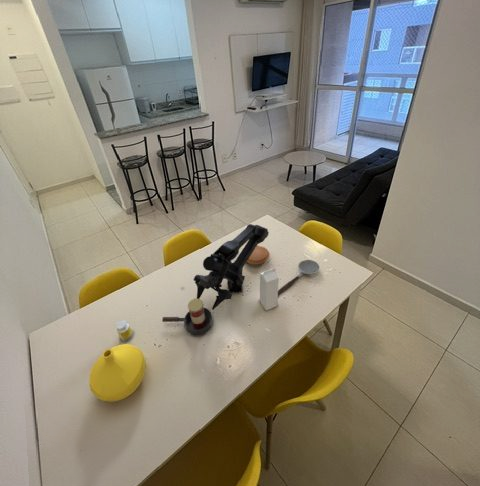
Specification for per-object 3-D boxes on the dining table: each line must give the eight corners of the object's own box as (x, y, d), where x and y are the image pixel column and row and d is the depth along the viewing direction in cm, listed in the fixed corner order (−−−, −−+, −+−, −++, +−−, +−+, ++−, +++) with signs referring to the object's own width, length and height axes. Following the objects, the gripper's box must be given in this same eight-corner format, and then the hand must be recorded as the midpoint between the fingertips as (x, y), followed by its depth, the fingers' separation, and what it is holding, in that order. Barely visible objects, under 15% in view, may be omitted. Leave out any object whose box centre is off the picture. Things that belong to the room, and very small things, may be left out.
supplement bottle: (135, 332, 112) (129, 321, 107) (128, 342, 108) (121, 330, 103) (126, 329, 113) (120, 318, 108) (118, 339, 110) (112, 327, 105)
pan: (214, 312, 119) (213, 306, 117) (211, 336, 109) (210, 330, 107) (188, 312, 119) (186, 307, 117) (183, 336, 109) (181, 331, 107)
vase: (150, 398, 90) (135, 372, 79) (94, 417, 86) (70, 391, 76) (149, 350, 105) (137, 322, 94) (101, 364, 101) (82, 336, 90)
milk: (277, 306, 120) (279, 272, 108) (265, 310, 118) (267, 277, 106) (270, 296, 125) (272, 263, 112) (259, 301, 123) (260, 267, 110)
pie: (270, 268, 141) (270, 261, 138) (242, 268, 141) (241, 262, 138) (268, 249, 153) (268, 243, 150) (242, 250, 154) (242, 244, 151)
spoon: (323, 270, 137) (323, 266, 135) (280, 306, 121) (280, 302, 119) (306, 261, 144) (306, 257, 143) (264, 294, 128) (264, 289, 127)
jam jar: (209, 319, 115) (205, 301, 108) (201, 331, 110) (197, 313, 103) (197, 315, 117) (193, 296, 110) (189, 326, 113) (184, 307, 105)
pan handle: (185, 318, 114) (185, 315, 112) (184, 322, 112) (184, 319, 111) (164, 318, 114) (163, 316, 113) (162, 322, 112) (161, 320, 111)
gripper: (193, 261, 111) (178, 294, 111) (225, 280, 101) (209, 316, 101) (207, 264, 121) (194, 294, 120) (239, 281, 111) (224, 315, 110)
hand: (204, 304), depth 113 cm, fingers open, 9 cm apart
